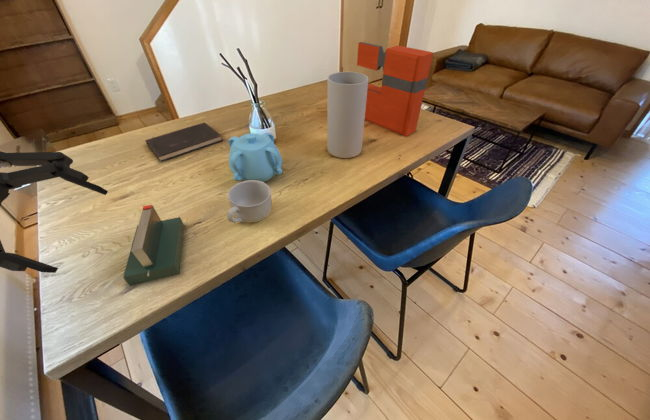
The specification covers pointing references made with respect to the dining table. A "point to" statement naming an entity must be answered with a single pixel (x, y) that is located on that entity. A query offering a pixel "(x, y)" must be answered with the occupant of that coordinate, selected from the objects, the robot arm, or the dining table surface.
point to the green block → (159, 255)
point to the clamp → (395, 85)
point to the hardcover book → (183, 141)
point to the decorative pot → (254, 157)
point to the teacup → (249, 201)
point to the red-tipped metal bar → (147, 237)
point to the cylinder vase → (346, 113)
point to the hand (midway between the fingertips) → (78, 228)
